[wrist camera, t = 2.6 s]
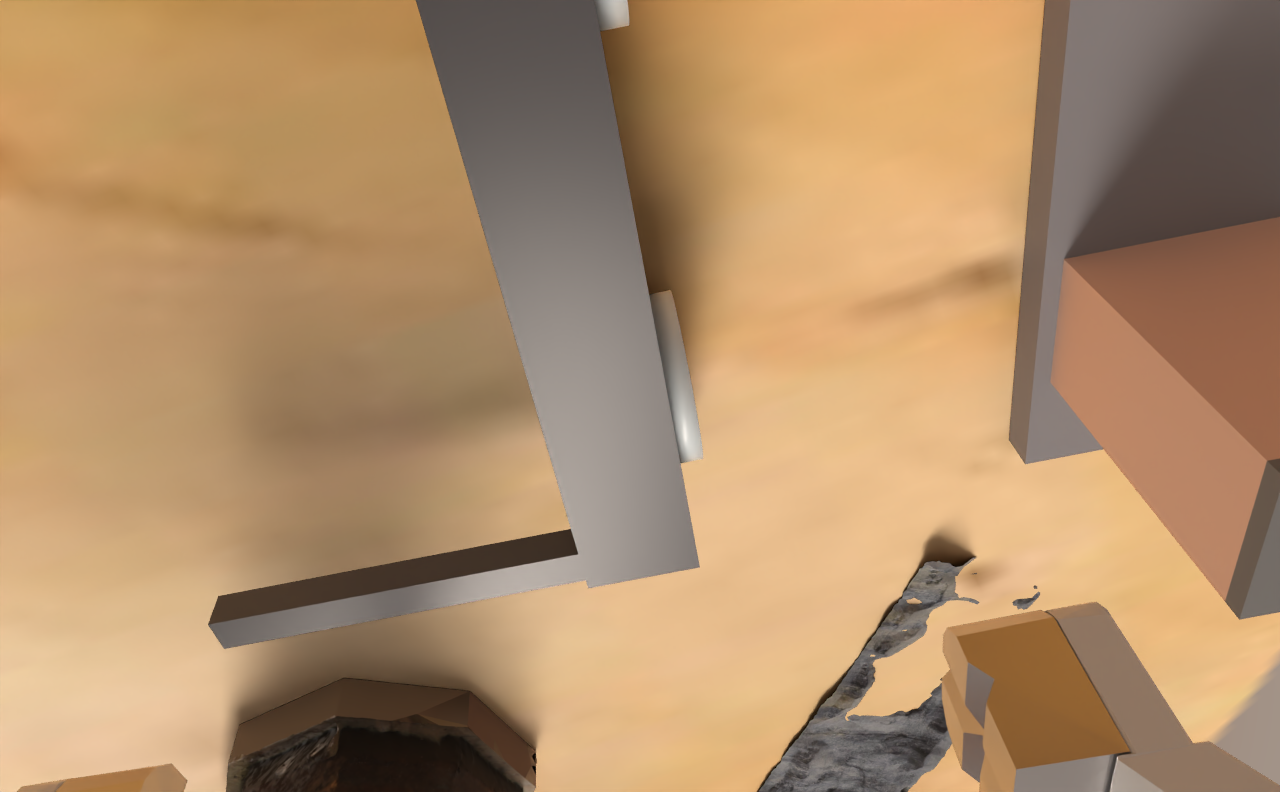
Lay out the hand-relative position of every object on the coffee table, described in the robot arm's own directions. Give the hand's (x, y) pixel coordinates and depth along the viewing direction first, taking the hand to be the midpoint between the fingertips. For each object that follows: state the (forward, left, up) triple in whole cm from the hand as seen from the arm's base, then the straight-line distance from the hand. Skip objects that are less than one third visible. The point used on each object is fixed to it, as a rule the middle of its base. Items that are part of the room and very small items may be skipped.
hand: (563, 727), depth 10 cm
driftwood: (+8, -27, -17) cm, 33 cm away
